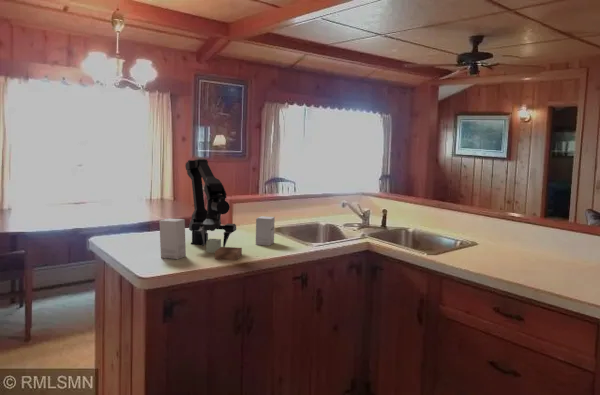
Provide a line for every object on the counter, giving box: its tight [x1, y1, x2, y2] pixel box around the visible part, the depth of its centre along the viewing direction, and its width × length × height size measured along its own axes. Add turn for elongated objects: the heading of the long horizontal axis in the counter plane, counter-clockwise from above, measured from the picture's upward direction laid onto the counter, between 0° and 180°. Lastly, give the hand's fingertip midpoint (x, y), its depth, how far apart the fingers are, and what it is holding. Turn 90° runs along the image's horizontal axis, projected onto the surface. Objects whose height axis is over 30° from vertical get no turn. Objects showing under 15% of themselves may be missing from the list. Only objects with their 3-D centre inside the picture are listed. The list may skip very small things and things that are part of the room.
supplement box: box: [255, 215, 275, 246], centre depth 219 cm, size 7×7×13 cm
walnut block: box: [214, 246, 243, 261], centre depth 192 cm, size 9×9×4 cm
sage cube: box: [205, 238, 222, 254], centre depth 201 cm, size 5×5×5 cm
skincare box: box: [159, 217, 187, 260], centre depth 188 cm, size 8×7×16 cm
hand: (213, 246), depth 201 cm, fingers open, 9 cm apart
